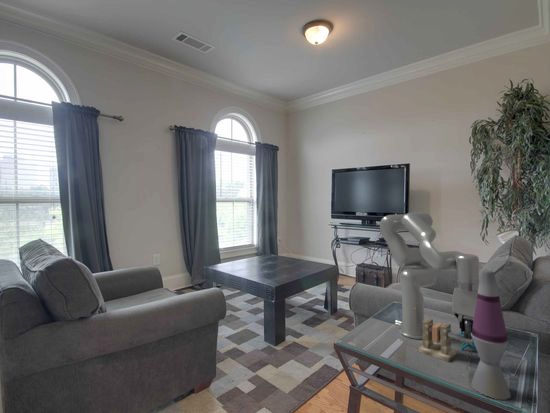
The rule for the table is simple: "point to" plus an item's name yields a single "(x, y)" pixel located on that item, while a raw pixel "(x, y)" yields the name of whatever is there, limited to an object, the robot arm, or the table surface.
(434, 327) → the spacer
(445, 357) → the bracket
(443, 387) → the table surface
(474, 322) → the lamp
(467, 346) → the gear
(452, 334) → the shaft
